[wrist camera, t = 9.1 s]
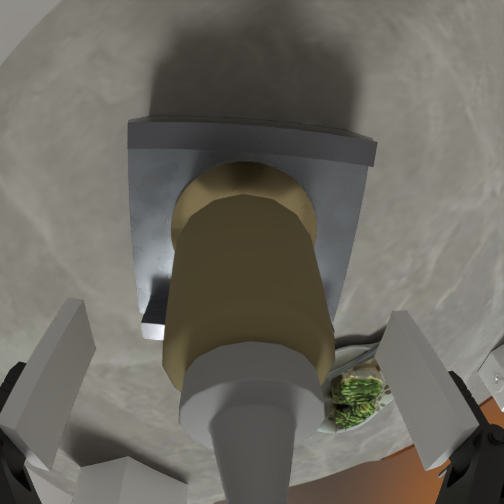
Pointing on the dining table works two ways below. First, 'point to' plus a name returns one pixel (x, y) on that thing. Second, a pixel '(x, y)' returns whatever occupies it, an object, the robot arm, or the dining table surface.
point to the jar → (494, 375)
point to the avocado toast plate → (353, 389)
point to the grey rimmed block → (239, 190)
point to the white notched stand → (127, 484)
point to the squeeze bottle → (248, 341)
